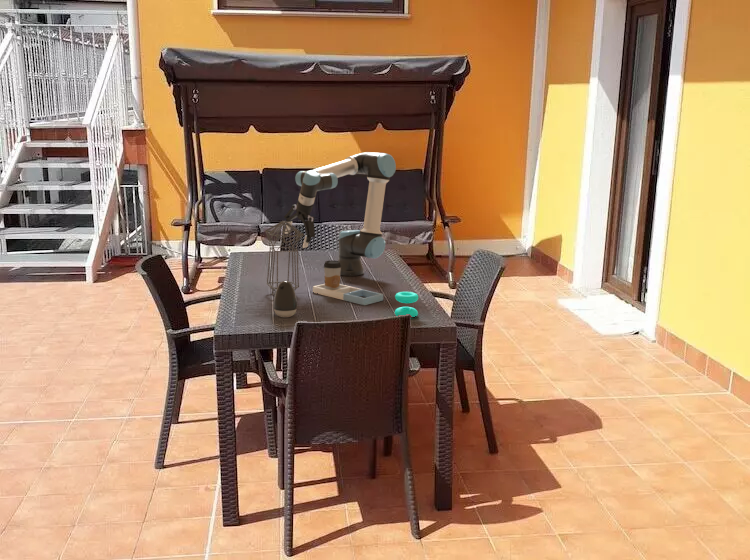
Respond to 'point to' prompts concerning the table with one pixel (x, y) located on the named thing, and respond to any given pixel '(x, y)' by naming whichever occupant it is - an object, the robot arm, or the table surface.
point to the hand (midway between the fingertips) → (295, 240)
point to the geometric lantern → (283, 251)
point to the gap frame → (350, 294)
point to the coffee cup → (332, 274)
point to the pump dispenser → (285, 300)
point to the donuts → (406, 298)
